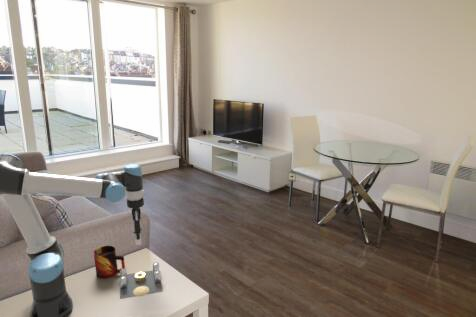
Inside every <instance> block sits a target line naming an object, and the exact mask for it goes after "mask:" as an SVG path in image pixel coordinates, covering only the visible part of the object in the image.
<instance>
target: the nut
mask: <svg viewBox="0 0 476 317" xmlns="http://www.w3.org/2000/svg"><path fill="white" fill-rule="evenodd" d="M143 272H144V271H139V272H135V273H136V275H135V281H136V282H139V283H140V282H143V281H145V279H146V273H143Z"/></svg>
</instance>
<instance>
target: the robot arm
mask: <svg viewBox="0 0 476 317" xmlns="http://www.w3.org/2000/svg"><path fill="white" fill-rule="evenodd" d="M143 184H144V183H143V172H142V166H140V165H139V164H136V163H132V164H127V165H125V166H124V167H123V170H119V171H110V172H102V173H97V174H96V175H95V178H93V177H81V176H71V175H62V174H54V173H53V174H52V173H43V172H32V171H30V170H29V169H27V168H24V165H23V162H22V160H21V159H20V158H19V157H18V156H17V155H14V154H11V153H9V152H8V153H4V152H3V153H0V197H2V199H3V200H4V203H5V204H6V206H7V208H8V210H9V212H10V213H11V216H12V218H13V219H14V221H15V224H16V225H17V228H18V229H19V232H20V234H21V235H22V237H23V239H24V241H25V243H26V244H27V248H26V250H25V252H26V254H27V256H28V257H29V260H30V262H29V264H28V270H27V271H28V272H27V273H28V276H29V281H30V282H29V283H30V287H31V293H32V299H33V300H32V305H31V307H30V308H31V309H30V312H29V313H30V314H29V315H30V317H68V316H69V315H70V314H71V312H72V311H73V309H74V308H73V307H74V302H73V300H72V298H71V296H70V295H69V293H68V291H67V287H66V286H67V285H66V279H65V278H66V277H65V261H64V260H65V258H64V257H65V251H64V248H63V246H62V245H61V244H60V242H58V240H57V238H56V236H53V235H50V233H49V231H48V229H47V227H46V225H45V222H44V220H43V219H42V216H41V215H40V213H39V210H38V208H37V206H36V204H35V202H34V199H33V198H32V196H31V194H38V195H39V194H40V195H56V196H68V197H79V198H82V197H84V198H97V199H106V200H108V201H109V202H112V203H119V202H121V201H122V200H123V199H124V197H125V198H126V206H127V208H128V209H131V215H132V221H133V224H134V226H133V228H134V229H133V230H134V231H133V232H132V233H133V235H134V242H135V246H140V245H142V232H141V231H142V229H143V228H141V222H140V221H141V213H142V212H141V208H142V207H143V206H145V198H144V193H145V189H144V188H143Z"/></svg>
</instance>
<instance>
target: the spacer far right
mask: <svg viewBox="0 0 476 317" xmlns="http://www.w3.org/2000/svg"><path fill="white" fill-rule="evenodd" d="M152 270H153V274H154V271H156V270H159V271H160V262H153V263H152Z"/></svg>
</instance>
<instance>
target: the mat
mask: <svg viewBox="0 0 476 317" xmlns="http://www.w3.org/2000/svg"><path fill="white" fill-rule="evenodd" d="M142 272H143V273H146V279H145V281H143V282H140V283H139V282H136V281H135V275H136V273H137V272H135V273H129V274H128V273H127V288H126V289H120V288H119V300H120V299H121V300H122V299H129V298H134V297H142V296H146V295H150V294H157V293H161V292H163V291H164V290H163V285H162V281H161V282H160V283H154V274H153V269H152V270H147V271H142Z"/></svg>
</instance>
